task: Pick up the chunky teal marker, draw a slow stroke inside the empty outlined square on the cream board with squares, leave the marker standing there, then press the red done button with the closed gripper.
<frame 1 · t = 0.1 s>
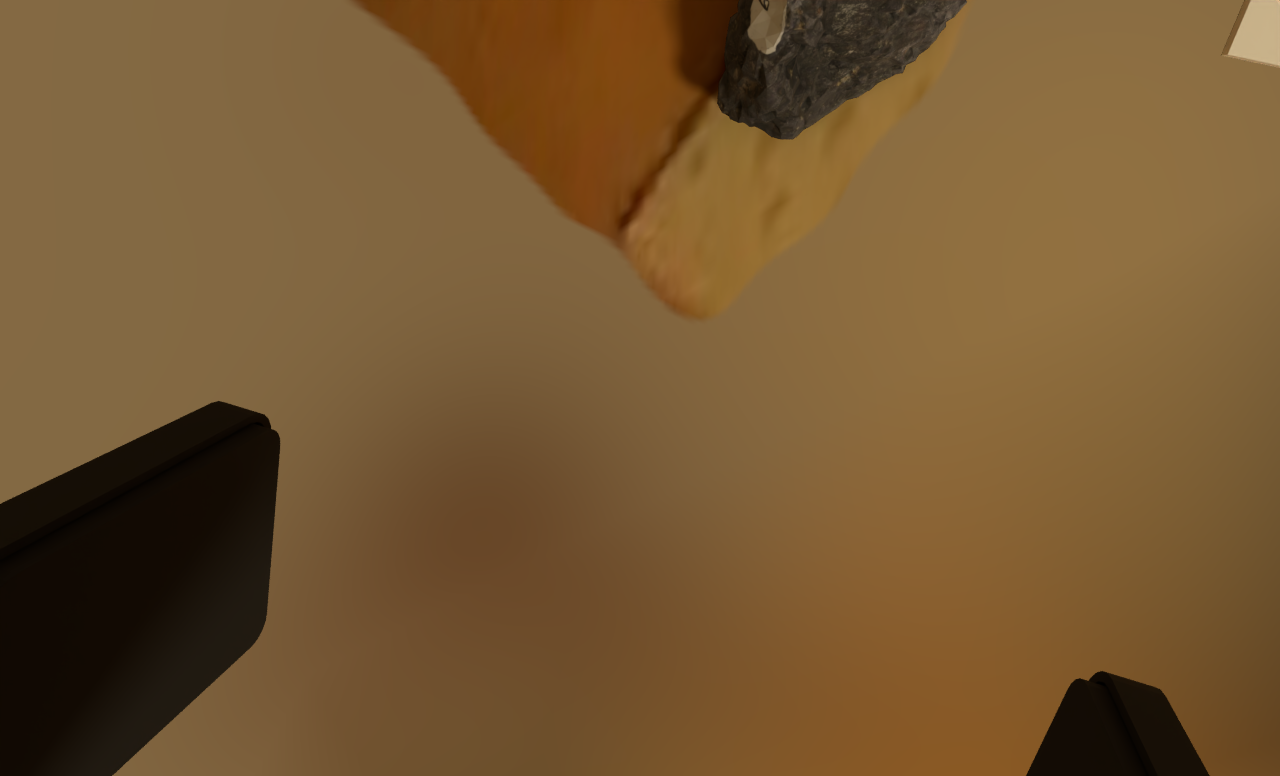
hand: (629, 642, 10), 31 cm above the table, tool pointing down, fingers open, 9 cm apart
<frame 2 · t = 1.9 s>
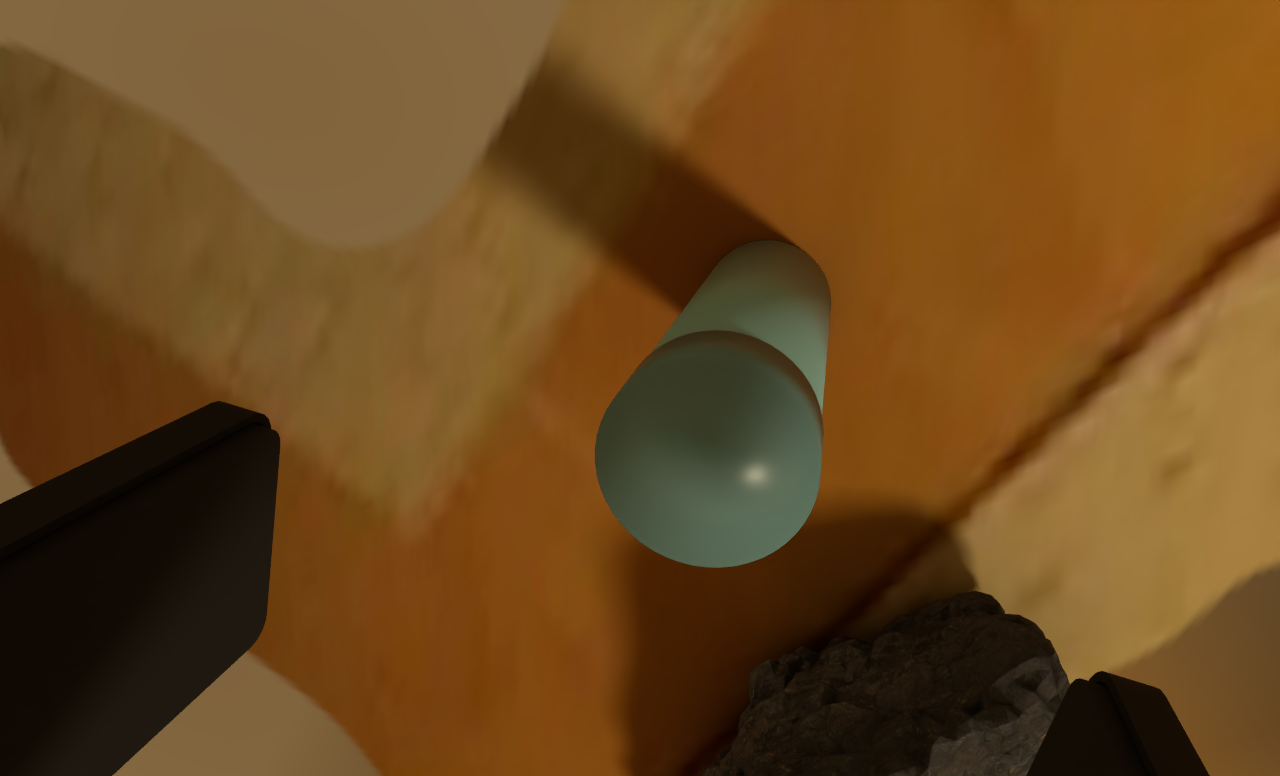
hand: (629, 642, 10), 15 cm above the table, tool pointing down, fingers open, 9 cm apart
rock: (861, 717, 28), on the table
marker: (766, 302, 24), on the table
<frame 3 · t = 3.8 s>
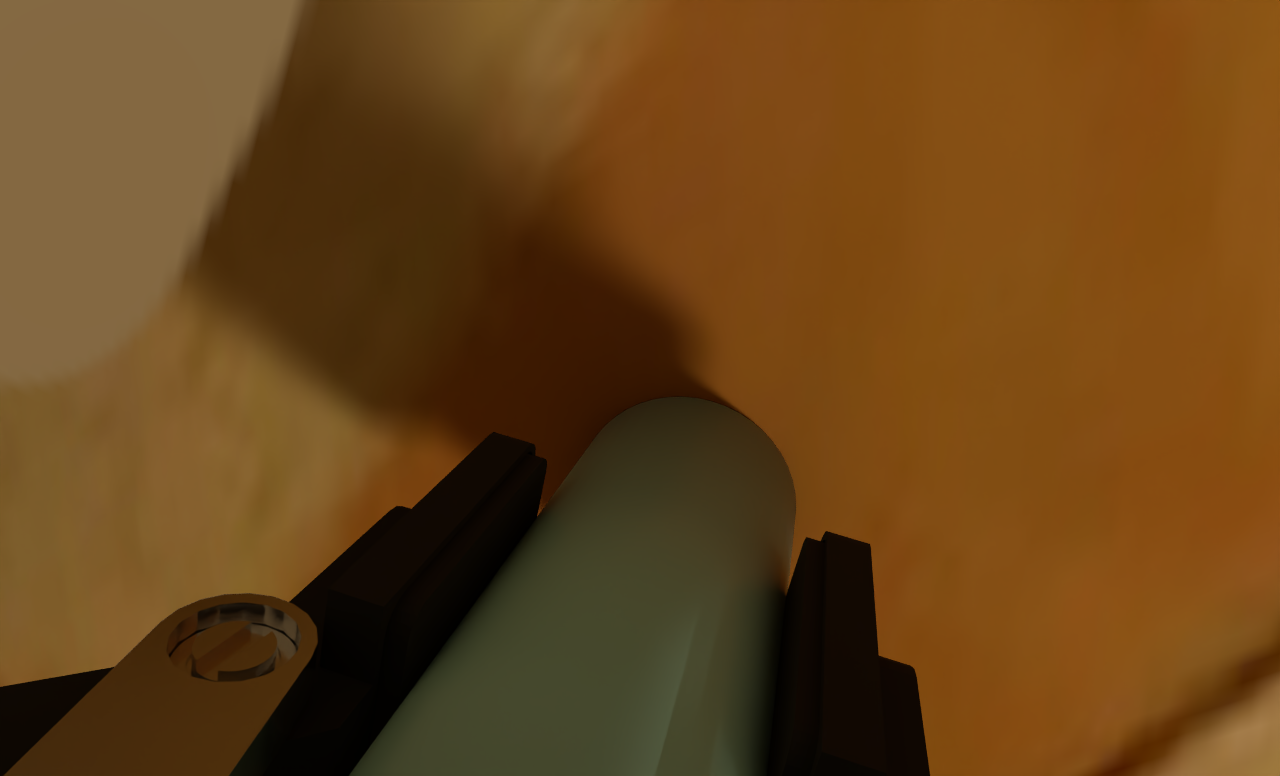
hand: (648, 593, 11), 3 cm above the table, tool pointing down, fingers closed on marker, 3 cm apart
marker: (684, 500, 14), on the table, touching gripper
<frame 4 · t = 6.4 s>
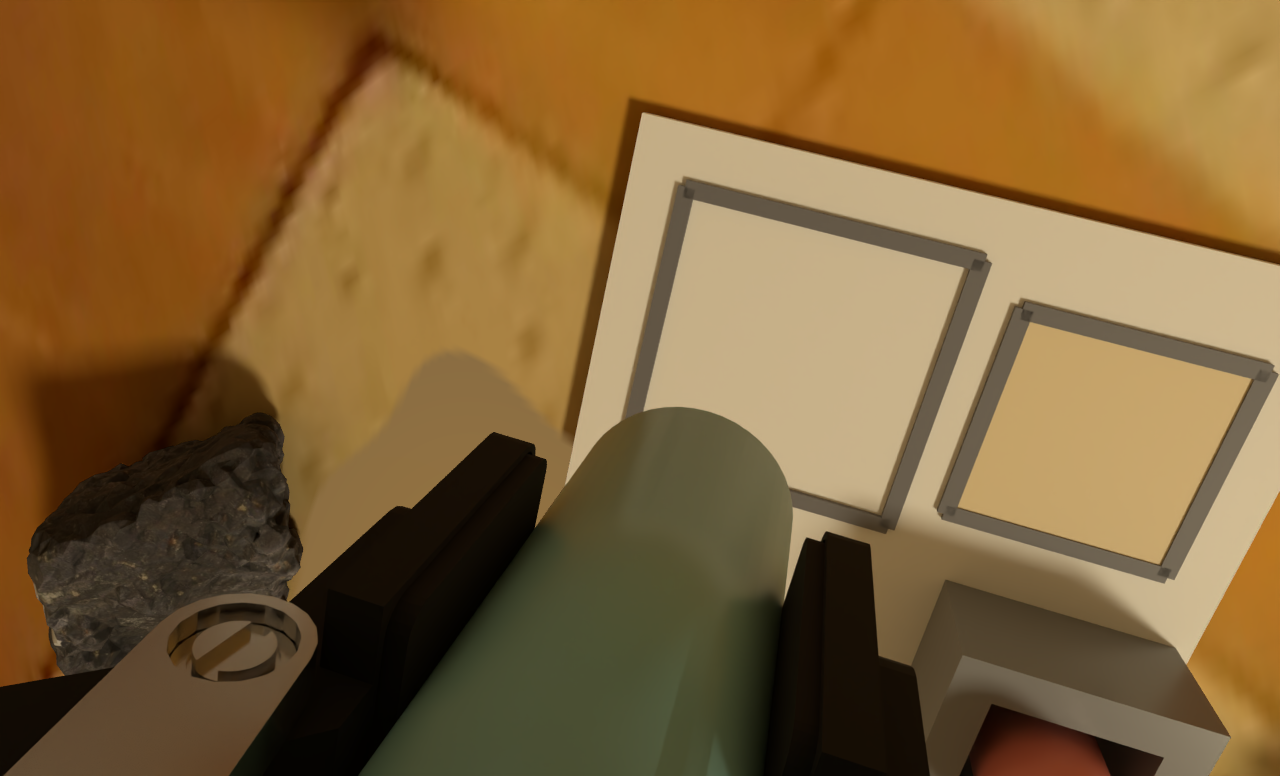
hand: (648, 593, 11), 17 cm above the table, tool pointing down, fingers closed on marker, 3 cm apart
rock: (224, 526, 34), on the table
button collar: (1017, 702, 28), resting on cream board with squares
cream board with squares: (890, 479, 27), on the table
marker: (682, 510, 14), point 14 cm above the table, touching gripper
when the fingers open (4 cm above the table, at t = 9.0 s): marker drops 1 cm, resting on cream board with squares.
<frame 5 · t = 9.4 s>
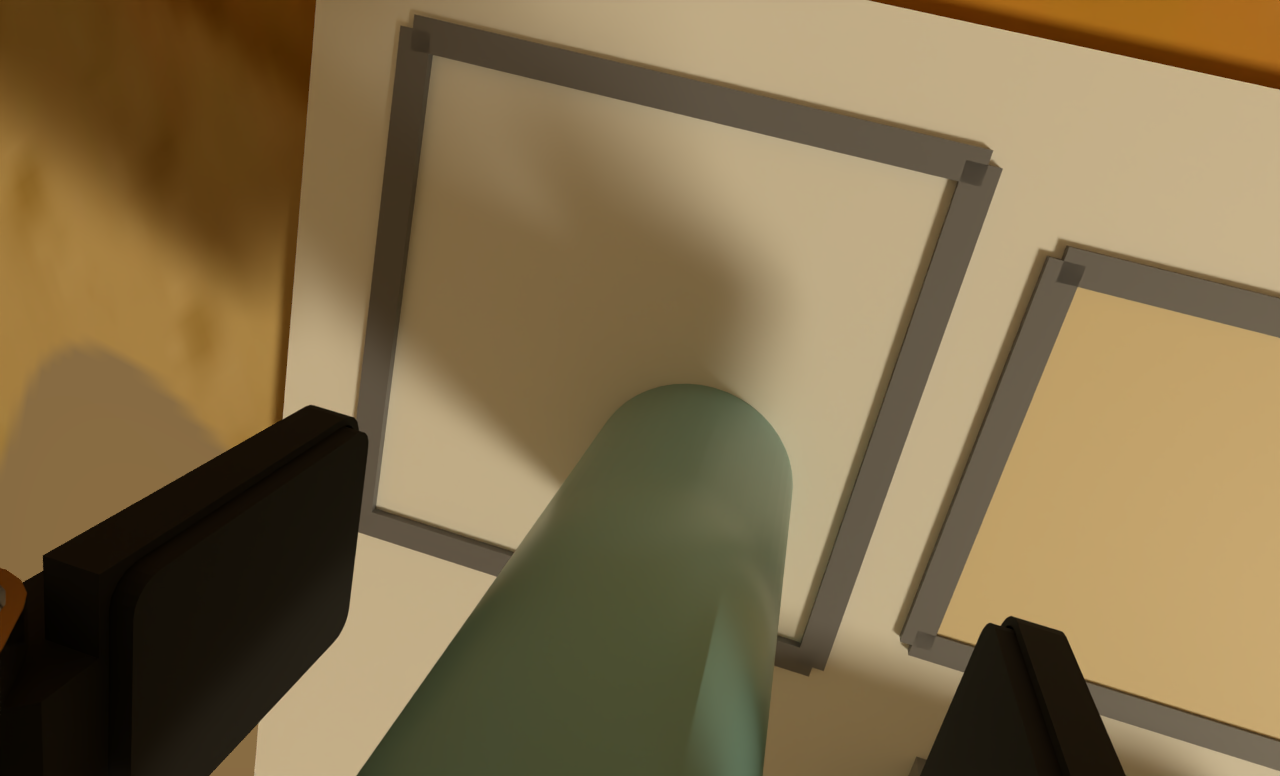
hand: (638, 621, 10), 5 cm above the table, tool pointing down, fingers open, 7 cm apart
cream board with squares: (817, 576, 15), on the table
marker: (689, 480, 15), point 1 cm above the table, touching cream board with squares
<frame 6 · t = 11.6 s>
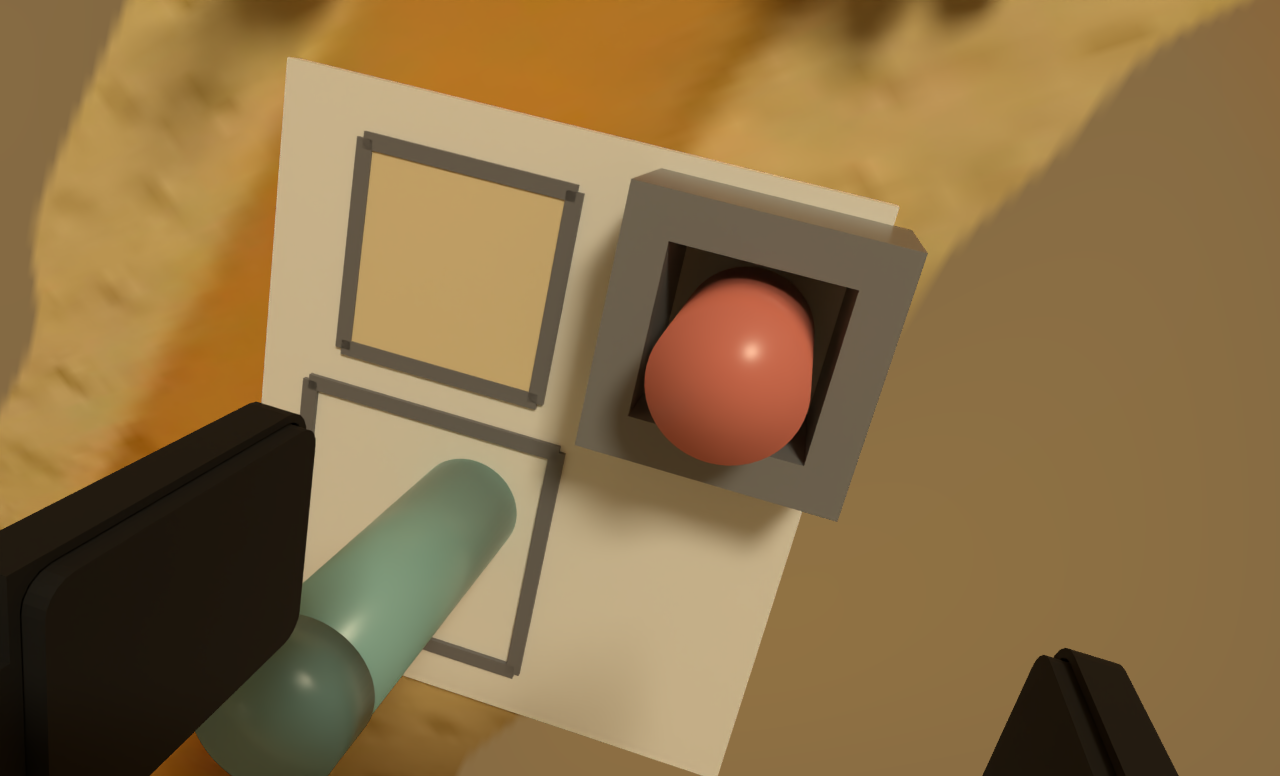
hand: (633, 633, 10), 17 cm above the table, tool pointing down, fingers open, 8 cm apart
button collar: (751, 319, 25), resting on cream board with squares
cream board with squares: (525, 441, 28), on the table
marker: (467, 506, 29), point 1 cm above the table, touching cream board with squares
done button: (737, 357, 21), point 5 cm above the table, slide at 0.0 cm
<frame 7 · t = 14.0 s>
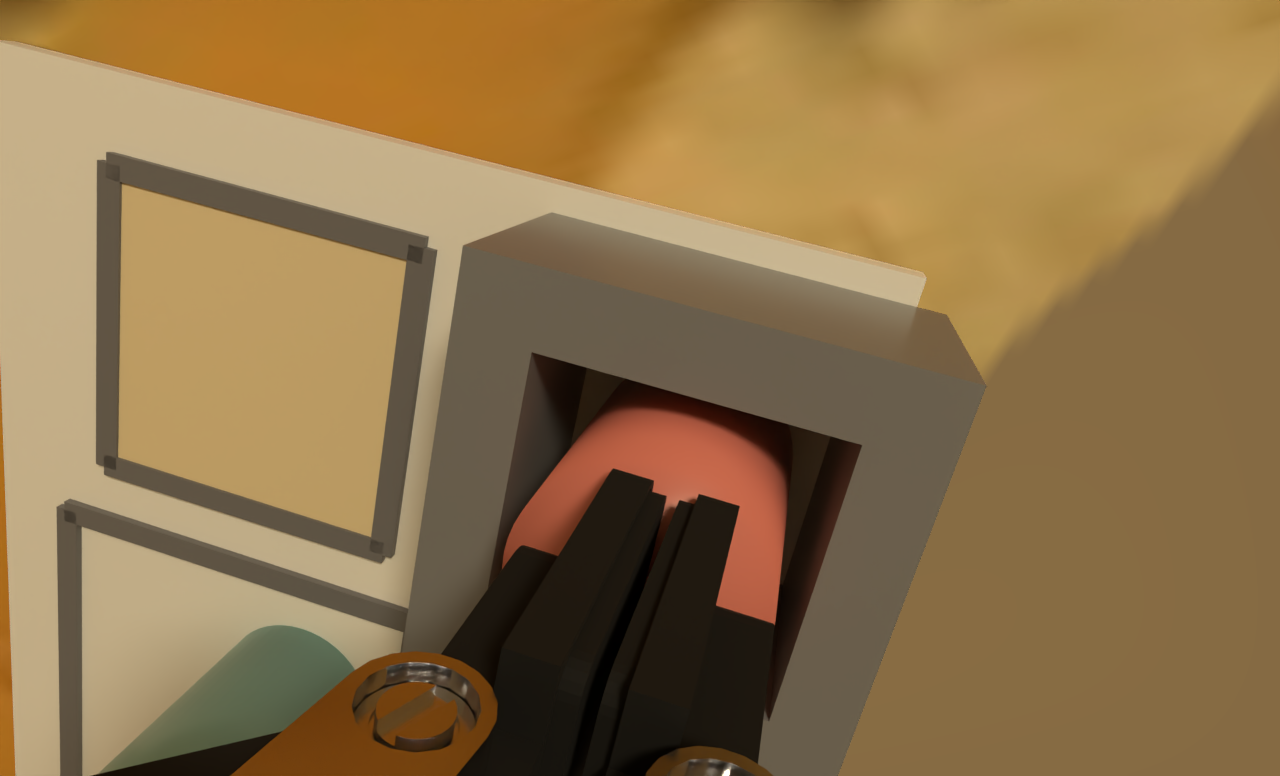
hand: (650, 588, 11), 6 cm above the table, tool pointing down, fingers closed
button collar: (695, 444, 16), resting on cream board with squares
cream board with squares: (377, 599, 20), on the table
marker: (297, 689, 20), point 1 cm above the table, touching cream board with squares
done button: (668, 510, 14), point 3 cm above the table, slide at 1.2 cm, touching gripper
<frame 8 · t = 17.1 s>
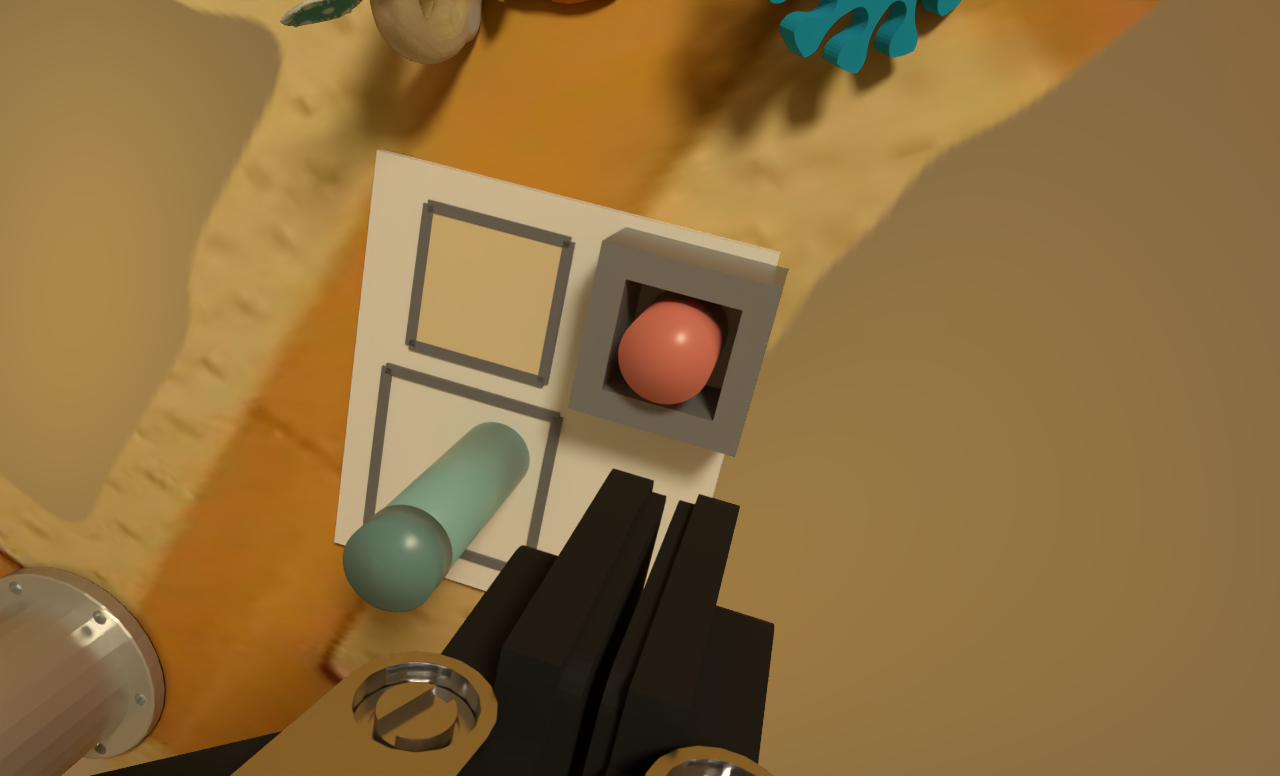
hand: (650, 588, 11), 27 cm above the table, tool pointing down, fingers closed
button collar: (686, 326, 37), resting on cream board with squares
cream board with squares: (535, 410, 41), on the table
marker: (495, 455, 41), point 1 cm above the table, touching cream board with squares
done button: (676, 341, 35), point 3 cm above the table, slide at 1.5 cm
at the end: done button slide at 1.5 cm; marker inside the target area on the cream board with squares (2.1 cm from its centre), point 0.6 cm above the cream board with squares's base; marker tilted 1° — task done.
